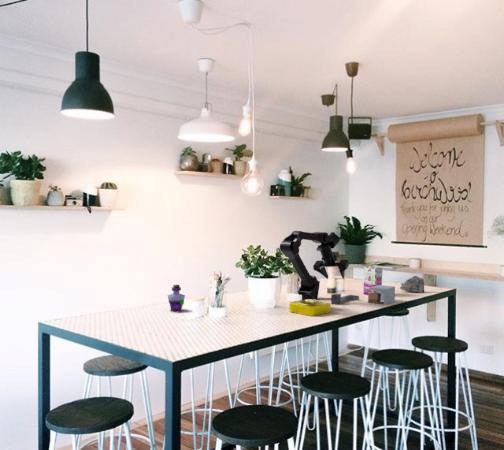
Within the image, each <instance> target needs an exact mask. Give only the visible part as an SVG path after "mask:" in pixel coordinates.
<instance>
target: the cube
mask: <svg viewBox="0 0 504 450" xmlns="http://www.w3.org/2000/svg"><path fill="white" fill-rule="evenodd" d="M380 302H382V300H381V293H369V294H368V295H367V304H373V303H374V304H375V305H378V304H380Z"/></svg>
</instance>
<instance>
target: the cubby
mask: <svg viewBox="0 0 504 450" xmlns="http://www.w3.org/2000/svg"><path fill="white" fill-rule="evenodd" d="M369 290H377V291H378V293H381V301H383V305H385V306H387V305H389V304H391V303H394V302H395V300H396V299H395V296H396V295H395V294H396V293H395V292H396V287H395V286H392V285H385V284H384V285H383V284H382V285H377V286H374V287H370V288H369Z"/></svg>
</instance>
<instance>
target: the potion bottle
mask: <svg viewBox="0 0 504 450" xmlns="http://www.w3.org/2000/svg"><path fill="white" fill-rule="evenodd" d="M172 286H173V287H171V291H173V293H170V294H168V295H167V299H168V303H169V307H170V311H171V312H181V311H182V309H183V305H184V304H185V298H186V297H185V294H183V293H180V291H181V290H182V289H181V288H182V287H181V285H180V284H173V285H172Z"/></svg>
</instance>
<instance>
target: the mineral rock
mask: <svg viewBox="0 0 504 450" xmlns="http://www.w3.org/2000/svg"><path fill="white" fill-rule="evenodd" d="M399 289H400V290H401V291H405V292H409V293H420V294H424V293H425V280H424V278H423V277H419V276H418V275H414V276H412V277H410V278H408V279H406V281H404V282H402V283H401V284H400V287H399Z"/></svg>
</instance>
